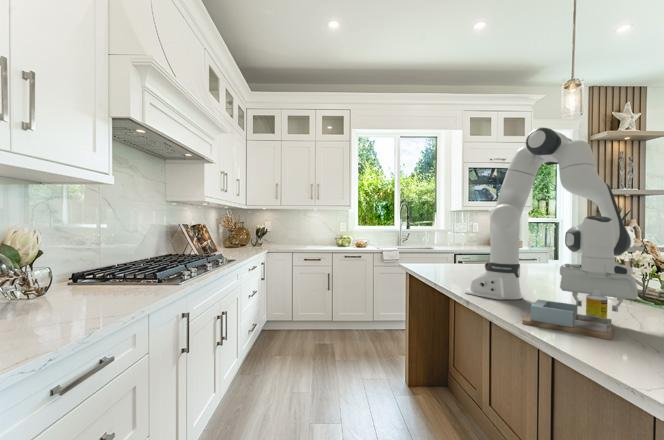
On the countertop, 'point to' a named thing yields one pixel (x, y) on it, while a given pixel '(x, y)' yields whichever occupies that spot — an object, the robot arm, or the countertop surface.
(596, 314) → the supplement bottle
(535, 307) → the box
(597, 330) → the board
